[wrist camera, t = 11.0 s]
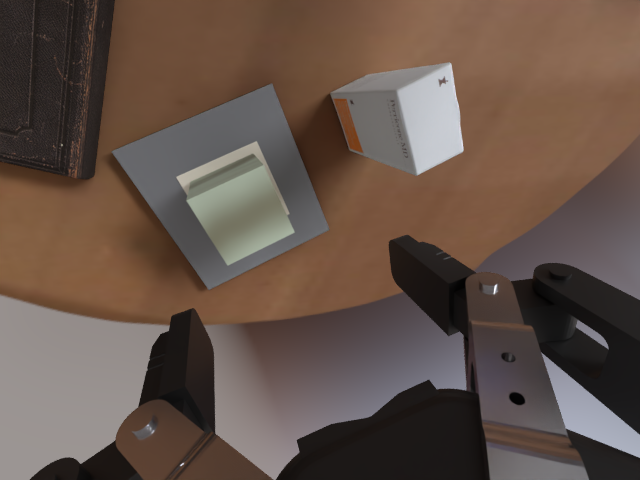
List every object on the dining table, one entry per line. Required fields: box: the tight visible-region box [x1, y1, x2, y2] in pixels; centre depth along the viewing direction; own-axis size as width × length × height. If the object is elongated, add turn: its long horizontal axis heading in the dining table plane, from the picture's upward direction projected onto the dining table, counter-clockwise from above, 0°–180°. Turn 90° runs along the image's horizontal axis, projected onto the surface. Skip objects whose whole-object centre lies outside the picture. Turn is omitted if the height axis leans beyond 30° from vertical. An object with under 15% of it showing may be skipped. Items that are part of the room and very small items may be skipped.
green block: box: [186, 154, 295, 266], centre depth 26 cm, size 6×6×6 cm
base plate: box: [111, 84, 329, 290], centre depth 29 cm, size 15×14×1 cm
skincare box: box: [330, 62, 463, 176], centre depth 25 cm, size 6×4×12 cm
